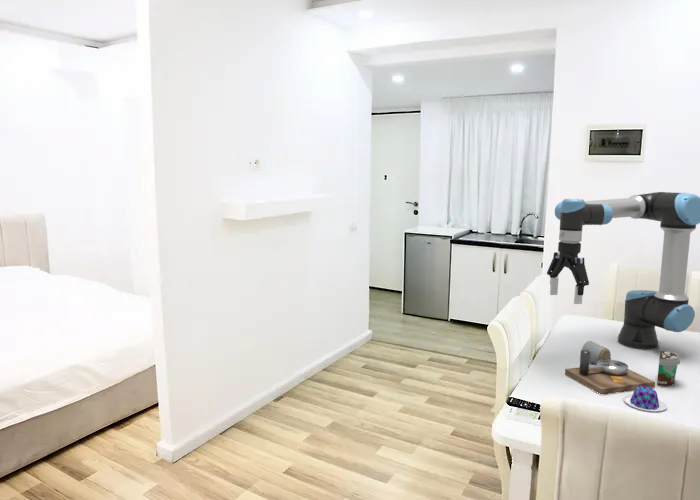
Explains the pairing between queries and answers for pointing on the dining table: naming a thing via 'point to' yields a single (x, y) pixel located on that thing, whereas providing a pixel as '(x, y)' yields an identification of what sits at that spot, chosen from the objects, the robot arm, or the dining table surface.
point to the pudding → (645, 399)
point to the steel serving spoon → (601, 365)
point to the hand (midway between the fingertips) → (565, 299)
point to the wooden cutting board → (610, 381)
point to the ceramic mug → (596, 351)
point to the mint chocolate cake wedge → (667, 367)
